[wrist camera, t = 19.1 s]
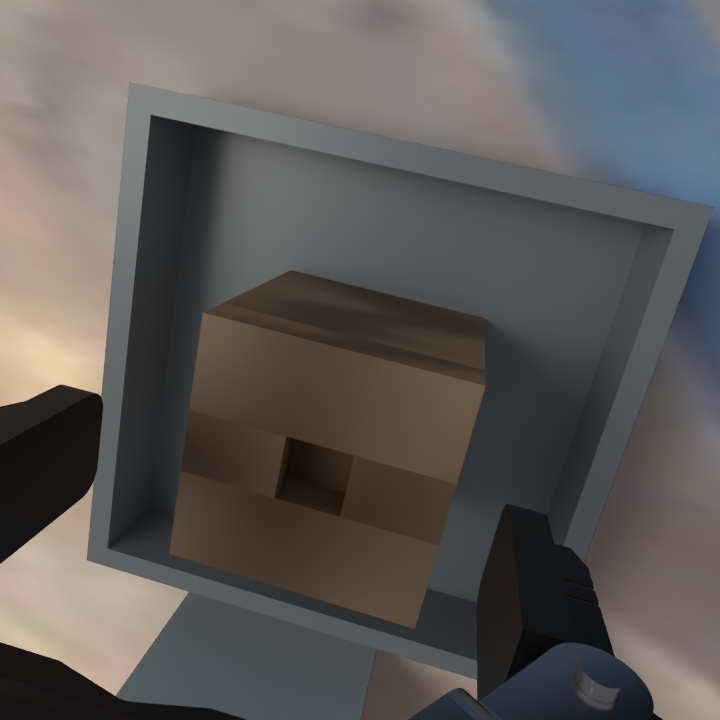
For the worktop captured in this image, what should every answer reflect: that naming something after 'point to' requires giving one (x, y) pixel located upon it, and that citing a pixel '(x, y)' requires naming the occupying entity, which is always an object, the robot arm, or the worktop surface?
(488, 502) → the tray
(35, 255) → the worktop surface
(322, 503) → the walnut block
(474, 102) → the worktop surface
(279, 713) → the grey socket cube
